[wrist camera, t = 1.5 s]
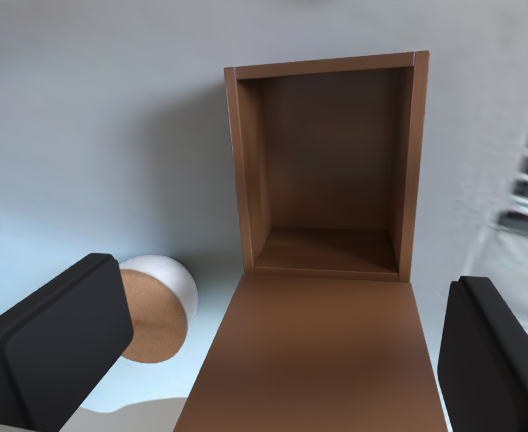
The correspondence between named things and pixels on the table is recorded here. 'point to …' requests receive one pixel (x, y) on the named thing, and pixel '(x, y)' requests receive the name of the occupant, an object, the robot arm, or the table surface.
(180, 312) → the trinket box
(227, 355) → the lid
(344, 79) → the chest
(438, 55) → the table surface
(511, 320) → the robot arm
